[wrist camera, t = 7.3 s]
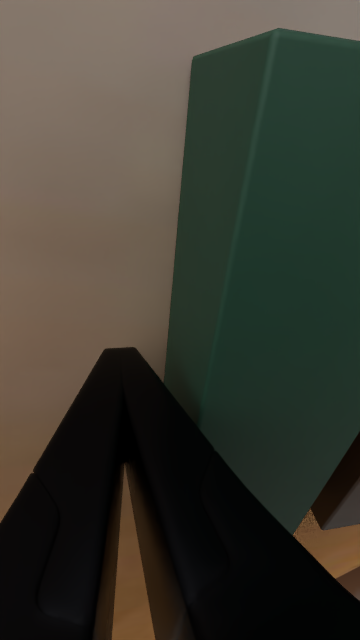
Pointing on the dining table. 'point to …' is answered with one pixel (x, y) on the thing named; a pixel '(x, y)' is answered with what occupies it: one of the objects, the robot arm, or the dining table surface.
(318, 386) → the green bar
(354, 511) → the walnut bar
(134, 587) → the dining table surface
